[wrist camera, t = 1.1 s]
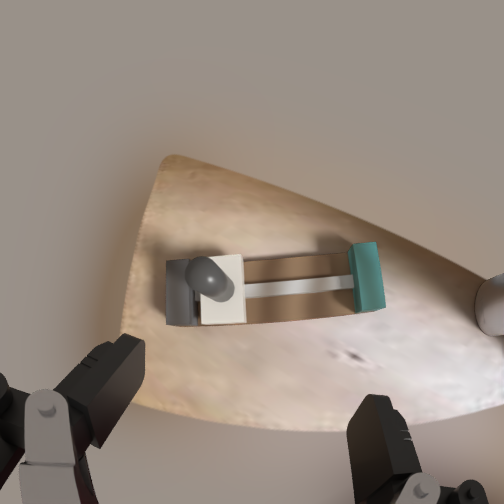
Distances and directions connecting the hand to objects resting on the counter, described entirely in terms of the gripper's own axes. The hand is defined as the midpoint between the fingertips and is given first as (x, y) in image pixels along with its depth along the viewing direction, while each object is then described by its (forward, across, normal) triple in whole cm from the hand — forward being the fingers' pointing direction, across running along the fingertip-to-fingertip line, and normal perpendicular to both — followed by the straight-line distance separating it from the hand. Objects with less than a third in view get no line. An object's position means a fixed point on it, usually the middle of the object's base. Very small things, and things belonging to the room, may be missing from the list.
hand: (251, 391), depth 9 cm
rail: (+27, -2, +8) cm, 28 cm away
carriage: (+24, +5, +8) cm, 26 cm away
